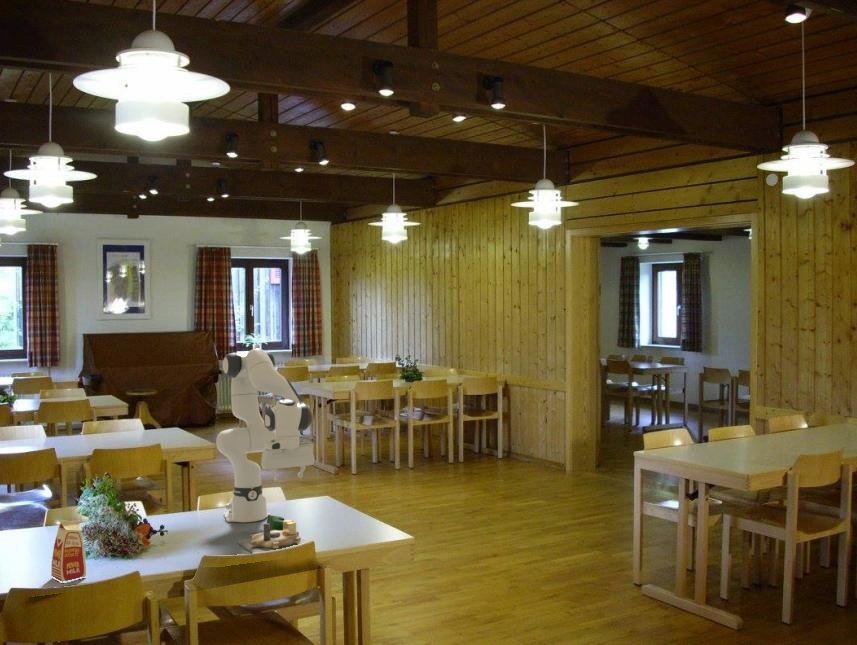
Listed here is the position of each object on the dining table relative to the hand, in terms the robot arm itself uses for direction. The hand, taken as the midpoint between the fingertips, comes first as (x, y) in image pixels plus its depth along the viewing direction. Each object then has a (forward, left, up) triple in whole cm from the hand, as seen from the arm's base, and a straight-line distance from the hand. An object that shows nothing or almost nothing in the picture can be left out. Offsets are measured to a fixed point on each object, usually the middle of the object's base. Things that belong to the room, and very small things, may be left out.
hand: (288, 479), depth 324 cm
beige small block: (0, 0, -20) cm, 20 cm away
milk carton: (+1, -78, -24) cm, 82 cm away
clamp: (-18, +2, -24) cm, 30 cm away
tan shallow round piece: (0, -6, -23) cm, 24 cm away
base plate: (0, -6, -24) cm, 25 cm away
